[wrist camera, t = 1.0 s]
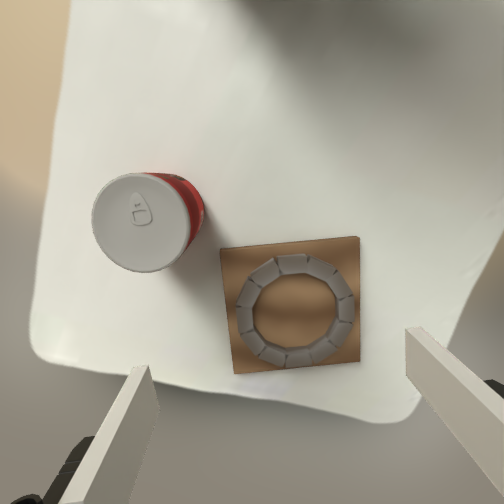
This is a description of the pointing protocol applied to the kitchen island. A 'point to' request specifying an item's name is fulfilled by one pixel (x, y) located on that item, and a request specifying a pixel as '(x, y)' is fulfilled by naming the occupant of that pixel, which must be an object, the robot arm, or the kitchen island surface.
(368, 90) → the kitchen island surface
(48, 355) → the kitchen island surface
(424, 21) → the kitchen island surface
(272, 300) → the socket board
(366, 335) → the kitchen island surface
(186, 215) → the canned food
